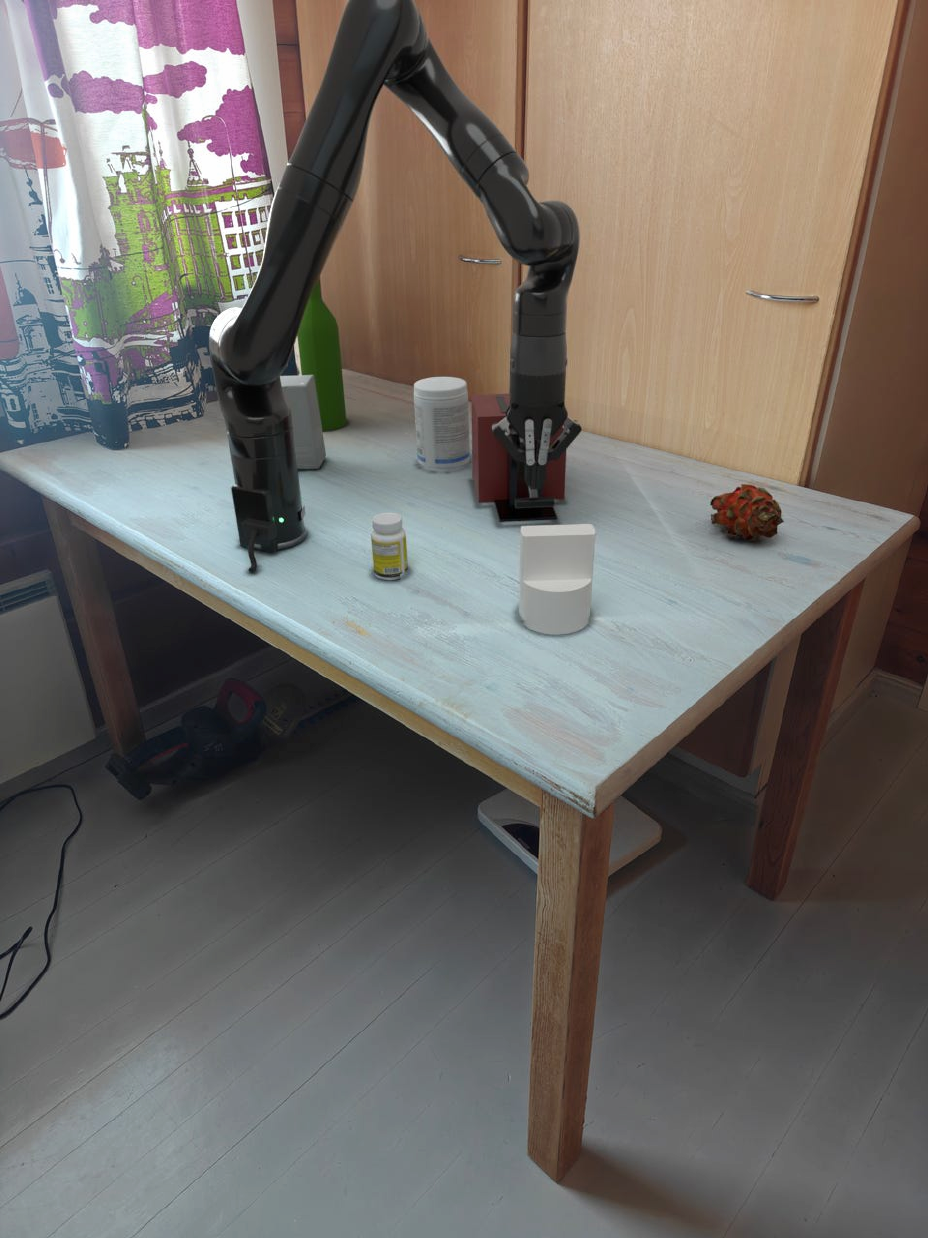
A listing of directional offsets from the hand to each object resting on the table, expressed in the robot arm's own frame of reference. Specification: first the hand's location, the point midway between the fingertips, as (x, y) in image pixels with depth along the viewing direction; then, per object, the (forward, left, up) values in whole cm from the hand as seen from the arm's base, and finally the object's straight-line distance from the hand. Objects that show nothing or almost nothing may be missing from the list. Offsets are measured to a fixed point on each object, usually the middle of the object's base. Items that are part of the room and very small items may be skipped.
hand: (534, 487), depth 126 cm
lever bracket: (+9, +5, -9) cm, 14 cm away
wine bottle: (+35, +60, -9) cm, 70 cm away
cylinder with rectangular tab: (-20, -11, -9) cm, 24 cm away
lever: (+6, +3, 0) cm, 6 cm away
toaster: (+17, +10, -9) cm, 22 cm away
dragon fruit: (+14, -28, -9) cm, 32 cm away
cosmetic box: (+13, +51, -9) cm, 54 cm away
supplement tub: (+24, +27, -9) cm, 38 cm away
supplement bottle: (-18, +14, -9) cm, 24 cm away
